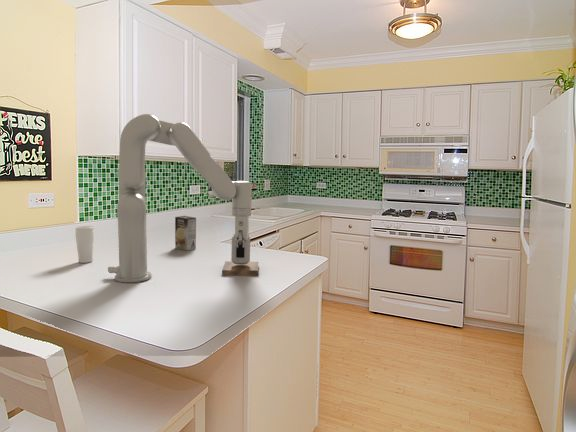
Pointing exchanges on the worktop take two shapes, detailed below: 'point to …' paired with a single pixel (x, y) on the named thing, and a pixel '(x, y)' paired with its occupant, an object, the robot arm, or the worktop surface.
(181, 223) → the coffee box
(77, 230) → the drinking glass
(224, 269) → the walnut board
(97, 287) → the worktop surface
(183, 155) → the robot arm
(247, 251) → the can
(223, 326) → the worktop surface
